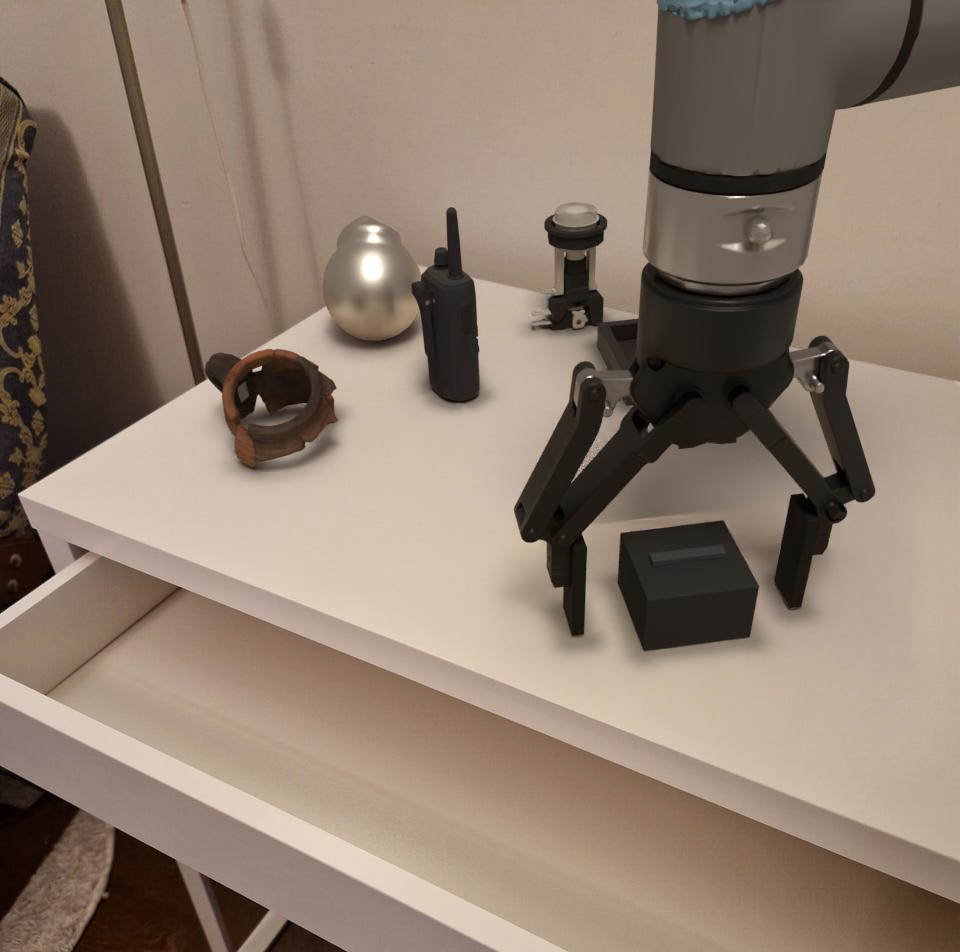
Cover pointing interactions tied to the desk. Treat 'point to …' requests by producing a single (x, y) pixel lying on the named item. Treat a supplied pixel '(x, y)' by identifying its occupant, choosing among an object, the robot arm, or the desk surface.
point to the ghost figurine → (371, 281)
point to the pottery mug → (272, 400)
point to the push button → (574, 267)
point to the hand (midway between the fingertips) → (680, 607)
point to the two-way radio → (449, 320)
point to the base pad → (618, 344)
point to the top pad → (686, 585)
